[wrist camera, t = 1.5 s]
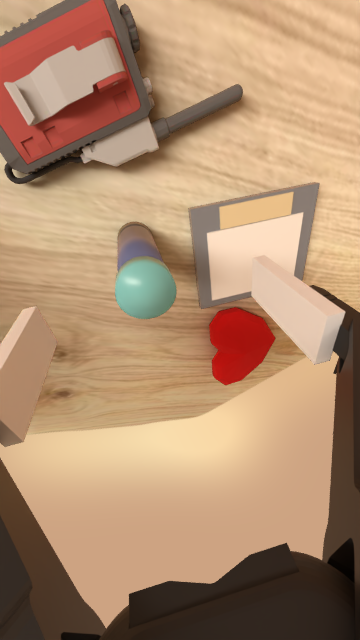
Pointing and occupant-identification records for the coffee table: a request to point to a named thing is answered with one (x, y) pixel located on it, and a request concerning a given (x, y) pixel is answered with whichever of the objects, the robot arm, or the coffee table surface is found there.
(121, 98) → the walkie-talkie
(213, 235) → the clipboard
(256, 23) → the coffee table surface
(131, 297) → the marker
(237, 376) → the heart
